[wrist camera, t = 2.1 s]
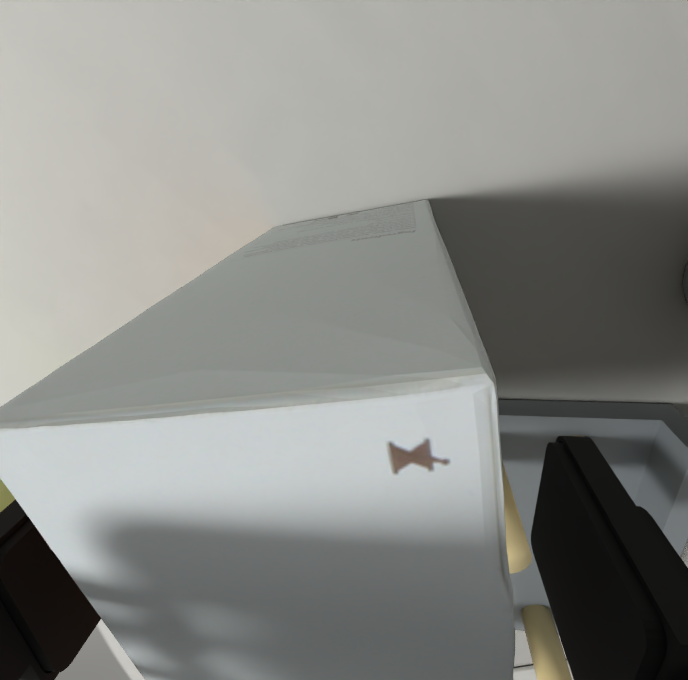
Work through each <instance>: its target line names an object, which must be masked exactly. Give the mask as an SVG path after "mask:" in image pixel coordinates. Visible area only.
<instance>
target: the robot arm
mask: <svg viewBox="0 0 688 680" xmlns="http://www.w3.org/2000/svg"><path fill="white" fill-rule="evenodd" d="M531 546H532V551H533V554H534V557H535V560H536V564H537V567H538V570H539V573H540V576H541V579H542V582H543V585H544V589H545V592H546V595H547V598H548V601H549V604H550V607H551V610H552V613H553V617H554V620H555V623H556V626H557V629H558V632H559V635H560V638H561V642H562V645H563V648H564V651H565V654H566V657H567V660H568V663H569V667H570V670H571V673H572V676H573V679H574V680H688V568H687V567H686V565H685V564H684V562H683V561H682V559H681V558H680V556H679V555H678V553H677V552H676V551H675V549H674V548H673V546H672V545H671V543H670V542H669V540H668V539H667V537H666V536H665V535H664V533H663V532H662V530H661V529H660V527H659V526H658V524H657V523H656V521H655V520H654V519H653V517H652V516H651V515H650V514H649V513H648V511H647V510H645V509H644V508H642V507H640V506H636V505H635V503H634V502H633V500H632V499H631V497H630V496H629V494H628V493H627V491H626V490H625V488H624V487H623V485H622V484H621V482H620V481H619V479H618V478H617V476H616V475H615V473H614V472H613V470H612V469H611V467H610V466H609V464H608V463H607V461H606V460H605V458H604V457H603V455H602V454H601V452H600V451H599V449H598V447H597V446H596V444H595V443H594V441H593V440H592V439H591V438H589V437H581V436H558V437H557V439H556V442H549V443H548V444H547V447H546V452H545V458H544V463H543V469H542V474H541V480H540V486H539V491H538V497H537V502H536V508H535V514H534V519H533V525H532V530H531ZM100 619H101V617H100V616H99V615H98V613H97V612H96V610H95V609H94V608H93V606H92V605H91V603H90V602H89V601H88V599H87V598H86V597H85V595H84V594H83V592H82V591H81V590H80V588H79V587H78V586H77V584H76V583H75V581H74V580H73V579H72V577H71V576H70V574H69V573H68V571H67V570H66V569H65V567H64V566H63V564H62V563H61V562H60V560H59V559H58V557H57V556H56V555H55V553H54V552H53V551H52V550H51V549H50V547H49V546H48V544H47V543H46V541H45V540H44V538H43V537H42V535H41V534H40V533H39V531H38V530H37V528H36V527H35V525H34V524H33V523H32V521H31V520H30V518H29V517H28V516H27V514H26V513H25V511H24V510H23V509H22V507H21V506H20V504H19V503H18V502H17V500H16V499H15V500H14V501H13V502H12V503H11V504H9V505H8V506H7V507H6V508H5V509H4V510H2V511H1V512H0V680H54V679H55V678H56V676H57V675H58V674H59V672H61V671H63V670H65V669H66V668H67V667H68V666H69V665H70V664H71V662H72V661H73V659H74V658H75V657H76V655H77V654H78V652H79V651H80V649H81V648H82V646H83V644H84V643H85V642H86V640H87V639H88V637H89V636H90V634H91V633H92V631H93V630H94V628H95V627H96V625H97V624H98V622H99V621H100Z"/></svg>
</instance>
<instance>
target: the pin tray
mask: <svg viewBox="0 0 688 680" xmlns="http://www.w3.org/2000/svg"><path fill="white" fill-rule="evenodd" d="M498 409H499V427H500V441H501V454H502V472H503V491H504V512H505V525H506V546H507V555H508V563H509V572H510V578H511V582H512V587H513V596H514V605H513V615H514V627H515V630H521V631H525V633H526V637H527V641H528V645H529V649H530V653H531V657H532V661H533V665H534V669H535V673H536V677H537V680H572V677H571V674H570V671H569V667H568V664H567V661H566V658H565V655H564V651H563V648H562V645H561V642H560V639H559V632H558V629H557V626H556V623H555V620H554V617H553V613H552V610H551V607H550V604H549V601H548V598H547V595H546V592H545V589H544V585H543V582H542V579H541V576H540V573H539V570H538V567H537V564H536V560H535V557H534V554H533V551H532V546H531V530H532V525H533V519H534V514H535V508H536V502H537V497H538V491H539V486H540V480H541V474H542V469H543V463H544V458H545V452H546V447H547V444H548V443H549V442H556V439H557V437H558V436H581V437H589V438H591V439H592V440H593V441H594V443H595V444H596V446H597V447H598V449H599V451H600V452H601V454H602V455H603V457H604V458H605V460H606V461H607V463H608V464H609V466H610V467H611V469H612V470H613V472H614V473H615V475H616V476H617V478H618V479H619V481H620V482H621V484H622V485H623V487H624V488H625V490H626V491H627V493H628V494H629V496H630V497H631V499H632V500H633V502H634V503H635V505H636V506H640V507H642V508H644V509H645V510H647V511H648V513H649V514H650V515H651V516H652V517H653V519H654V520H655V521H656V523H657V524H658V526H659V527H660V529H661V530H662V532H663V533H664V535H665V536H666V537H667V539H668V540H669V542H670V543H671V545H672V546H673V548H674V549H675V551H676V552H677V553H678V555H679V556H681V553H682V551H683V549H684V547H685V544H686V542H687V540H688V419H687V418H686V417H685V416H684V415H683V414H682V413H680V412H679V411H678V410H677V409H676V408H675V407H674V406H673V405H672V404H653V403H614V402H575V401H536V400H498Z"/></svg>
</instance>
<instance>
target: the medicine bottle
mask: <svg viewBox="0 0 688 680" xmlns="http://www.w3.org/2000/svg"><path fill="white" fill-rule="evenodd" d="M566 661H567V664H568V667H569V663H568V660H566ZM569 671H570V674H571V677H572V680H574V679H573V676H572V673H571V670H570V667H569ZM513 680H537V677H536V673H535V669H534V665H531V666H525V667H518V668H513Z"/></svg>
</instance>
